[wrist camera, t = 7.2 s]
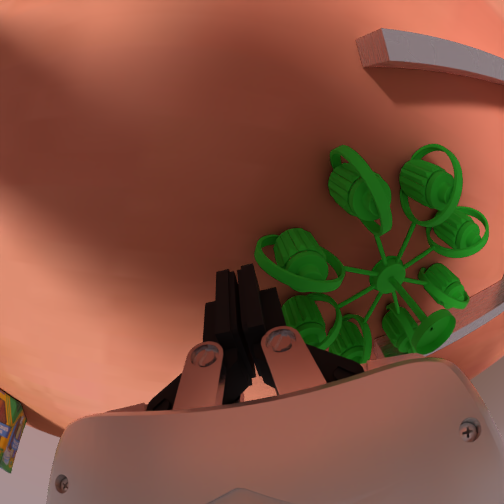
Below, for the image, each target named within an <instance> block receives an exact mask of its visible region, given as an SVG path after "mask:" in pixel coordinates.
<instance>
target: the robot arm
mask: <svg viewBox="0 0 504 504" xmlns="http://www.w3.org/2000/svg"><path fill="white" fill-rule="evenodd" d="M237 275H238V283H237V279H236V276H235V273H234V271H232V272H230V271H229V269H227V270H222V271H218V272H217V273H216V301H212V302H208V303H206V305H205V316H204V331H203V342H202V343H200V344H197V345H196V346H194V347H193V348H192V349H191V350H190V351H189V353H188V355H187V358H186V361H185V365H184V369H183V372H182V373H181V374H180V375H179V376H178V377H177V378H176V379H175V380H173V381H172V382H171V383H170V384H169V385H168V386H167V387H165V388H164V389H163V390H162V391H161V392H160V393H158V394H157V395H156V396H155V397H154V398H153V399H152V400H151V401H150V402H149V404H147V405H146V404H145V403H141V404H137V405H133V406H129V407H124V408H120V409H116V410H111V411H107V412H105V413H99V414H93V415H89V416H85V417H82V418H80V419H77V420H75V421H73V422H72V423H70V424H69V425H68V426H67V427H66V428H65V430H64V432H63V433H62V436H61V438H60V441H59V443H58V447H57V450H56V453H55V457H54V461H53V465H52V470H51V475H50V482H49V487H48V495H47V503H46V504H504V441H503V439H502V436H501V434H500V432H499V430H498V428H497V426H496V424H495V422H494V420H493V418H492V416H491V414H490V412H489V410H488V408H487V407H486V405H485V403H484V401H483V400H482V398H481V397H480V395H479V394H478V392H477V390H476V389H475V387H474V386H473V384H472V383H471V382H470V380H469V379H468V378H467V376H466V375H465V374H464V373H463V372H462V371H461V370H460V369H459V368H458V367H457V366H456V365H455V364H454V363H452V362H450V361H448V360H445V359H442V358H426V357H425V356H423V355H422V354H419V353H409V354H404V355H399V356H393V357H387V358H381V359H374V360H367V363H364V364H359V363H357V362H355V361H353V360H350V359H348V358H345V357H342V356H339V355H336V354H333V353H331V352H328V351H325V350H322V349H320V348H317V347H314V346H311V345H309V344H306V343H305V342H304V341H303V339H302V337H301V335H300V333H299V332H298V331H297V330H296V329H294V328H292V327H288V326H286V323H285V319H284V315H283V312H282V308H281V304H280V301H279V297H278V294H277V290H276V287H274V288H270V289H266V290H261V291H260V289H259V285H258V281H257V278H256V274H255V270H254V266H253V263H252V264H248V265H244V266H241V270H237ZM254 363H255V366H256V369H257V371H258V374H259V376H262V378H263V381H264V383H266V384H267V385H269V386H271V387H273V388H275V391H276V394H277V396H272V397H267V398H262V399H257V400H251V401H245V402H244V393H243V391H244V390H245V389H246V388H247V387H248V386H250V385H252V379H251V378H254V377H256V374H255V366H254Z"/></svg>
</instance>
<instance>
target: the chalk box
mask: <svg viewBox="0 0 504 504" xmlns="http://www.w3.org/2000/svg"><path fill="white" fill-rule="evenodd" d="M26 422H27V420H26V417H25V414H24V411H23V409H22V406H21V403H20V402H18V401H16V400H15V399H13V398H12V397H10V396H9V395H8V394H6V393H5V392H3V391H2V390H1V389H0V468H2V469H3V470H5V471H6V472H8V473H11V471H12V466H13V463H14V459H15V455H16V452H17V449H18V445H19V442H20V439H21V436H22V433H23V429H24V427H25V424H26Z"/></svg>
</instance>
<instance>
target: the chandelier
mask: <svg viewBox="0 0 504 504" xmlns="http://www.w3.org/2000/svg"><path fill="white" fill-rule="evenodd" d="M432 151H443V152H445V153H446V154H447V155H448V156H449V158H450V160H451V162H452V165H453V169H454V178H453V177H452V175H450V174H449V173H447V172H446V171H445V170H444V169H442V168H441V167H439V166H437V165H435V164H432V163H429V162H427V161H424V160H421V158H422V157H424V156H425V155H426V154H428V153H430V152H432ZM340 155H341V156H342V157H344V158H345V159H346V160H347V161H348V162H349V163H343V164H342V163H341V158H340ZM330 162H331V165H332V167H333V172H332V173H331V175H330V177H329V181H328V188H329V192H330V195H331V196H332V197H333V198H334V200H335V202H336V203H337V204H338V205H339V206H341V207H342V208H343V209H344V210H345V211H346V212H347V213H349V214H350V215H353V216H356V217H358V218H359V219H360V220H361V222H362V223H363V224H364V225H365V227H366V228H367V229H368V230H369V231H370V232H371V233H373V234H374V237H375V240H376V243H377V246H378V249H379V252H380V255H381V258H382V259H381V260H380V261H379V262H378V263H377V264H376V265H375V266H374V267H373V269H372V271H369V270H363V269H358V268H353V267H348V266H343V264H342V263H341V261H340V260H339V259H338V258H337V257H336V256H334V255H333V254H332V253H331V252H329V251H328V250H326V249H324V248H323V247H321V246H319V244H318V243H317V241H316V240H315V239H314V237H313V236H312V234H311V233H310V232H308V231H306V230H303V229H302V228H292V229H288V231H287V230H286V231H284V232H283V233H282V234H280V235H275V234H273V235H267V236H264V237H262V238H260V239H259V240H258V242H257V245H256V249H255V252H254V257H255V260H256V262H257V263H258V265H259V266H260V267H261V268H262V269H263V270H264V271H265V272H266V273H267V274H269V275H270V276H272V277H273V278H275V279H276V280H278V281H280V282H282V283H284V284H286V285H289V286H290V287H291V288H292V289H293V290H295V291H298V292H318V293H310V294H308V295H306V296H304V295H298V296H295V297H292V298H290V299H288V300H287V301H286V302H285V303H284V304H283V306H282V312H283V315H284V319H285V323H286V326H288V327H292V328H294V329H296V330H297V331H298V332H299V333H300V335H301V337H302V339H303V341H304V342H305V343H306V344H309V345H311V346H314V347H317V348H320V349H322V350H325V349H327V348H328V347H329V352H331V353H333V354H336V355H339V356H342V357H345V358H348V359H350V360H353V361H355V362H357V363H359V364H364V363H367V360H369V359H370V356H371V350H372V337H371V332H370V328H369V326H368V324H367V320H368V319H369V317H370V315H371V314H372V312H373V310H374V308H375V307H376V305H377V303H378V301H379V300H380V298H381V296H382V294H388V293H391V292H392V296H393V300H394V303H393V302H392V303H391V304H389V305H387V306H386V309H387V310H389V309H390V311H389V312H387V313H386V315H385V316H384V317H383V320H382V328H383V330H384V331H385V333H386V334H387V336H388V338H389V339H390V341H391V343H392V344H393V345H394V347H396V348H398V350H399V351H400V352H402V353H404V352H406V353H407V354H409V353H419V354H422V355H425V354H429V353H431V352H433V351H435V350H436V349H437V348H439V347H440V346H441V345H442V344H443V343H444V342H445V341H446V340H447V339H448V338H449V337H450V335H451V334H452V332H453V330H454V328H455V325H456V319H455V318H454V316H453V315H452V314H451V313H450V312H449V311H448V310H446V309H450V308H452V307H454V308H457V309H464V308H466V306H467V304H468V303H469V301H470V299H469V296H468V294H467V293H466V291H465V290H464V287H463V285H462V284H461V282H460V280H459V278H458V277H456V276H455V275H454V274H453V273H452V272H451V271H450V270H449V269H448V268H447V267H446V266H444V265H443V264H440V263H436V264H433V265H432V266H430V267H429V269H427V271H426V272H425V270H426V268H423V267H422V268H421V270H420V272H419V274H418V279H419V280H416V279H411V278H406V277H405V275H406V271H405V269H406V268H408V267H409V266H411V265H412V264H414V263H415V262H417V261H418V260H420V259H421V258H423V257H424V256H426V255H427V254H429V253H430V252H431V251H433V250H434V251H435V252H437V253H438V254H440V255H443V256H446V257H451V258H462V257H467V256H470V255H473V254H475V253H477V252H478V251H480V250H481V249H482V248H483V247H484V246H485V244H486V242H487V240H488V237H489V226H488V222H487V219H486V218H485V216H484V215H483V214H482V213H480V212H479V211H477V210H475V209H473V208H470V207H463V206H457V204H458V202H459V199H460V196H461V192H462V186H463V177H462V170H461V167H460V164H459V162H458V160H457V158H456V157H455V155H454V154H453V153H452V152H450V151H449V150H448V149H446V148H445V147H443V146H441V145H438V144H428V145H425V146H423V147H421V148H420V149H419V150H417V151H416V152H415V153H414V154H413V156H412V158H411V160H410V161H408V162H406V163H405V164H404V166H403V167H402V169H401V172H400V175H399V183H400V186H401V190H400V201H401V206H402V209H403V211H404V213H405V215H406V216H407V218H408V219H409V220H410V221H412V224H411V226H410V228H409V231H408V233H407V235H406V238H405V240H404V242H403V244H402V247H401V249H400V251H399V253H398V255H397V256H387V257H386V256H385V253H384V249H383V246H382V243H381V240H380V237H379V236H382V235H383V234H385V233H387V232H388V231H390V230H391V228H392V213H391V209H390V203H391V190H390V187H389V185H388V184H387V183H386V182H385V181H384V180H383V179H382V177H381V176H380V175H379V174H377V173H375V172H373V171H372V169H371V168H370V167H369V165H368V164H367V163H366V162H365V160H364V159H363V158H362V157H361V156H360V155H359V154H358V153H357V152H356V151H355V150H353V149H352V148H350V147H348V146H346V145H341V146H339V147H337V148H335V149H333V150H332V151H331V152H330ZM403 168H404V169H403ZM334 172H335V173H334ZM415 173H416V174H415ZM339 175H340V176H339ZM360 177H361V178H360ZM359 178H360V179H359ZM346 179H347V180H346ZM411 180H412V181H411ZM413 181H414V182H413ZM351 182H352V183H351ZM353 183H354V185H353ZM352 185H353V186H352ZM351 187H352V188H351ZM408 197H410V198H412V199H414V200H415V201H417V202H419V203H420V204H422V205H424V206H427V207H429V208H430V209H437V210H438V211H437V213H436V214H435V216H434V218H433V219H431V220H428V221H419V220H418V219H416V218H415V216H414V215H413V214H412V212H411V209H410V207H409V202H408ZM456 206H457V207H456ZM468 215H470V216H473V217H475V218H477V219H478V220H480V221H481V222H482V223H483V225H484V227H485V229H486V231H485V234H484V236H483V237H482V239H481V237H480V236H479V234H480V230H479V227H478V225H477V224H475V223H474V221H473V220H472V218H471V217H469V216H468ZM379 218H380V223H381V226H380V225H378V224H377V223H376V222H375V221H374V220H377V219H379ZM445 221H446V222H445ZM448 223H449V224H448ZM416 224H418V225H421V226H423V227H426V236H427V241H428V243H429V245H430V248H428V249H427V250H425V251H424V252H423V253H421V254H420V255H418V256H417V257H415V258H414V259H412V260H411V261H409V262H407V263H406V264H404V265H403V262H402V260H401V257H402V255H403V253H404V251H405V248H406V246H407V244H408V242H409V240H410V237H411V235H412V233H413V231H414V228H415V226H416ZM432 227H433V229H434V232H435V234H436V235H437V236H438V237H439V238H440V239H441V240H443V241H444V242H445V243H446V244H448V245H449V246H450V247H452V248H453V249H449V248H445V247H442V246H440V245H438V244H436V243H435V242H434V241H433V240H432V239H431V237H430V231H431V229H432ZM290 236H291V237H290ZM291 238H292V239H291ZM292 240H293V241H292ZM293 242H294V243H293ZM273 244H275V245H274V248H273V250H274V253H275V260H276V262H277V265H276V264H275V263H273V262H272V261H271V260H270V259H269V258H267V256H266V255H265V254H264V253H263V251H262V249H261V248H263V247H265V246H268V245H273ZM294 244H295V245H294ZM295 246H296V247H295ZM296 248H297V249H296ZM297 250H298V251H297ZM302 251H304V252H302ZM298 252H300V253H298ZM297 253H298V254H297ZM295 254H296V255H295ZM292 256H293V257H292ZM291 257H292V258H291ZM290 258H291V259H290ZM289 259H290V260H289ZM326 262H327V263H328V264H330V265H331V266H332V267H333V269H334V270H335V271H336V273H337V276H338V278H336V279H333V280H326V278H327V276H328V265H327V263H326ZM345 271H347V272H353V273H358V274H364V275H370V277H369V282H370V285H371V286H369V287H367V288H366V289H364V290H362V291H361V292H359V293H357V294H355V295H354V296H352V297H350V298H348V299H347V300H345V301H343V302H341V303H340V304H338V305H337V303H336V302H335V300H334V299H333V298H331V297H330V296H328V295H325V294H322V293H323V292H330V291H334V290H336V289H337V288H338V287H339V286H340V285H341V283H342V281H343V279H344V276H345ZM424 272H425V274H424ZM432 272H433V273H434V274H435V275H434V274H433V273H432ZM403 282H409V283H415V284H420V285H423V286H424V289H425V290H426V291H427V292H428V293H429V294H430V295H431V296H432V298H433V299H434V300H435V301H436V302H437V303H438V304H440V305H442V306H444V307H445V308H446V309H441V310H438V311H436V312H434V313H432V314H431V315H429V316H428V317H427V316H426V315H425V313H424V312H423V311H422V310H421V308H420V307H419V306H418V305H417V304H416V302H415V301H414V300H413V299H412V297H411V296H410V295H409V294H408V293H407V291H406V290H405V289H404V288H403V287H402V286H401V284H402V283H403ZM373 289H375V290H378V291H379V293H378V295H377V297H376V298H375V300H374V302H373V304H372V306H371V307H370V309H369V311H368V313H367V314H366V316H365V318H363V317H361V316H359V315H354V314H347V315H344V316H343V317H342V314H341V311H340V308H342V307H343V306H345V305H347V304H349V303H350V302H352V301H354V300H356V299H357V298H359V297H361V296H363V295H364V294H366V293H368V292H369V291H371V290H373ZM395 290H396V291H397V292H398V293H399V294H400V296H401V297H402V298H403V299H404V301H405V302H406V303H407V304H408V306H409V307H410V308H411V310H412V311H413V312H414V313H415V315H416V316H417V317H418V319H419V320H420V321H421V324H420V325H419V326H418V325H417V323H416V322H415V320H414V319H413V318H412V316H411V315H410V314H409V312H408V311H407V310H406V308H403V307H399V304H398V300H397V295H396V291H395ZM315 301H325V302H328V303H330V304H331V305H332V306H333V307H334V308H335V310H336V320H335V323H334V326H333V327H332V328H331V329H330V331H329V333H328V336H327V337H326V333H325V322H324V320H323V318H322V315H321V313H320V311H319V309H318V306H317V305H316V304H315ZM298 307H299V308H298ZM351 318H354V319H356V320H357V322H358V323H359V325H360V327H361V329H362V332H363V336H362V335H361V333H360V331H359V329H358V327H357V325H355V324H354V323H352V322H349V321H347V320H349V319H351ZM339 332H340V333H339ZM340 334H341V335H340Z"/></svg>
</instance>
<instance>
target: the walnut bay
mask: <svg viewBox="0 0 504 504" xmlns="http://www.w3.org/2000/svg"><path fill="white" fill-rule="evenodd" d="M356 43H357V47H358V51H359V54H360V58H361V63H362V67H389V68H407V69H419V70H428V71H437V72H444V73H450V74H456V75H462V76H467V77H472V78H476V79H481V80H485V81H489V82H493V83H497V84H500V85H504V59H502V58H500V57H497V56H495V55H492V54H490V53H487V52H484V51H481V50H479V49H476V48H473V47H470V46H466V45H463V44H460V43H456V42H453V41H449V40H445V39H441V38H437V37H432V36H428V35H423V34H417V33H412V32H406V31H399V30H391V29H383V28H381V29H379V30H376V31H374V32H372V33H369V34H367V35H365V36H363V37H360V38H358V39H356ZM469 299H470V301H469V303H468V304H467V306H466V308H464V309H457V308H454V307H452V308H450V309H446V310H448V311H449V312H450V313H451V314H452V315H453V316H454V318H455V319H456V325H455V328H454V330H453V332H452V334H451V335H450V337H449V338H448V339H447V340H446V341H445V342H444V343H443V344H442V345H441V346H440V347H439V348H437V349H436V350H435V351H433V352H431V353H429V354H425V355H423V356H425V357H426V356H428V355H430V354H432V353H434V352H436V351H438V350H440V349H442V348H444V347H445V346H447V345H449V344H451V343H453V342H455V341H457V340H458V339H460V338H462V337H464V336H465V335H467V334H469V333H471V332H472V331H474V330H476V329H477V328H479V327H480V326H482V325H484V324H485V323H487V322H488V321H490V320H491V319H493V318H494V317H496V316H497V315H499V314H500V313H502V312H503V311H504V275H503V279H502V280H501V281H499V282H497V283H495V284H494V285H492V286H490V287H489V288H487V289H485V290H483V291H481V292H480V293H478V294H476V295H474V296H472V297H470V298H469ZM420 324H421V321H420V322H417V325H418V326H419V325H420ZM373 352H374V353H375V355H376V357H377V359H381V358H387V357H393V356H399V355H404V354H407V353H406V352H404V353H402V352H400V351H399V350H398V348H396V347H394V345H393V344H392V343H391V341H390V339H389V338H388V336H387V335H385V336H382V337H379V338H376V339H375V341H374V349H373Z"/></svg>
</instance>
